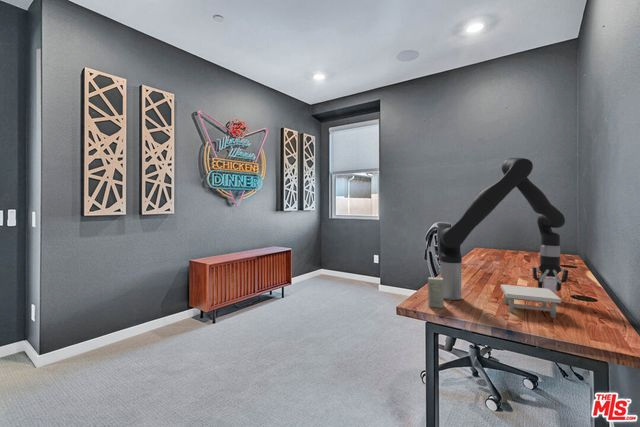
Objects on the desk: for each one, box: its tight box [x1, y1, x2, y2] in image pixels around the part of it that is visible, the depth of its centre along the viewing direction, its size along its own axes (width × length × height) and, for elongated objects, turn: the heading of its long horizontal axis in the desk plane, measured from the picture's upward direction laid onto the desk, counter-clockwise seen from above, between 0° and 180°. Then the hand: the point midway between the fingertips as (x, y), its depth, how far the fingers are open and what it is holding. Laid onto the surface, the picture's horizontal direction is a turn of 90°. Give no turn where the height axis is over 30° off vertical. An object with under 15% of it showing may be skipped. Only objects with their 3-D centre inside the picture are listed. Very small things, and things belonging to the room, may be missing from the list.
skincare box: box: [427, 276, 445, 309], centre depth 132 cm, size 6×4×12 cm
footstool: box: [500, 284, 562, 319], centre depth 127 cm, size 18×16×8 cm
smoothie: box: [542, 276, 558, 294], centre depth 143 cm, size 6×6×14 cm
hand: (549, 289), depth 143 cm, fingers closed on smoothie, 6 cm apart
